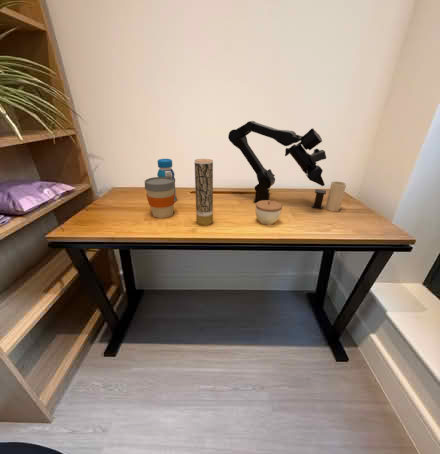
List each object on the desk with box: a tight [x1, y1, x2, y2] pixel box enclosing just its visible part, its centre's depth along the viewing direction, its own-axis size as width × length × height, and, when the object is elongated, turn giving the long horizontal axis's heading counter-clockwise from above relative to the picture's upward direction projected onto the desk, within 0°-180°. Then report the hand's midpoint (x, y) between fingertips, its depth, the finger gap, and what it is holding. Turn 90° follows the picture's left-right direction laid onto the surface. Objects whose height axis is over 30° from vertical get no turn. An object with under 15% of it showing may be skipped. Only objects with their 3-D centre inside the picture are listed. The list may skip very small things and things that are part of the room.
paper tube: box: [194, 158, 214, 226], centre depth 99 cm, size 7×7×25 cm
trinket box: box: [255, 199, 283, 226], centre depth 104 cm, size 11×11×9 cm
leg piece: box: [312, 188, 327, 210], centre depth 121 cm, size 5×5×8 cm
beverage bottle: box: [156, 158, 177, 202], centre depth 123 cm, size 8×8×20 cm
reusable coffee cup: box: [144, 176, 176, 219], centre depth 109 cm, size 13×13×15 cm
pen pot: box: [325, 180, 347, 212], centre depth 118 cm, size 6×6×12 cm
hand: (321, 182), depth 115 cm, fingers open, 9 cm apart
